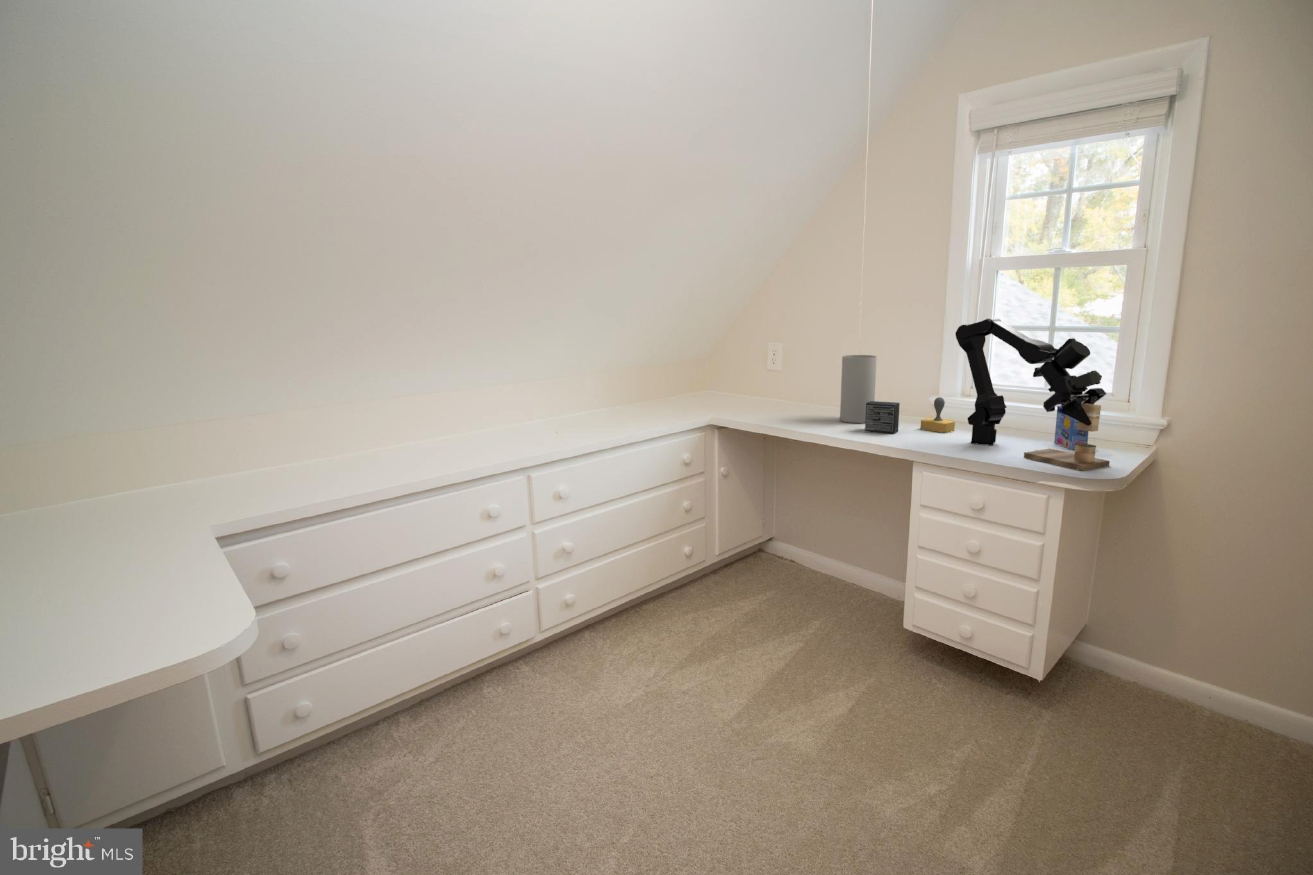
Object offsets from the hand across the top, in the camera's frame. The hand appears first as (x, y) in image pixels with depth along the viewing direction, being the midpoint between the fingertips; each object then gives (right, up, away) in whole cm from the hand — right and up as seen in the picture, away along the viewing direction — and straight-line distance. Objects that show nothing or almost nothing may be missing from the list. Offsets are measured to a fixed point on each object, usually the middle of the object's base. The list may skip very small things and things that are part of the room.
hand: (1093, 424), depth 176 cm
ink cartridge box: (+11, -6, +27) cm, 30 cm away
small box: (-38, -2, +55) cm, 67 cm away
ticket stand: (-2, -10, +8) cm, 14 cm away
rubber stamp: (-19, -1, +55) cm, 58 cm away
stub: (-1, -1, +2) cm, 2 cm away
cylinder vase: (-41, +3, +75) cm, 86 cm away
